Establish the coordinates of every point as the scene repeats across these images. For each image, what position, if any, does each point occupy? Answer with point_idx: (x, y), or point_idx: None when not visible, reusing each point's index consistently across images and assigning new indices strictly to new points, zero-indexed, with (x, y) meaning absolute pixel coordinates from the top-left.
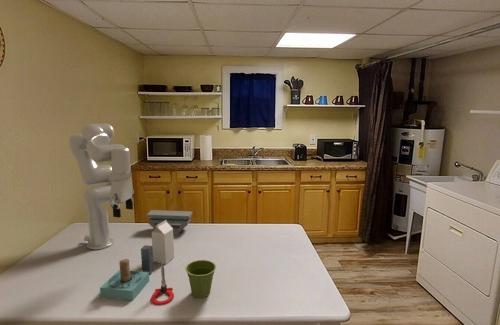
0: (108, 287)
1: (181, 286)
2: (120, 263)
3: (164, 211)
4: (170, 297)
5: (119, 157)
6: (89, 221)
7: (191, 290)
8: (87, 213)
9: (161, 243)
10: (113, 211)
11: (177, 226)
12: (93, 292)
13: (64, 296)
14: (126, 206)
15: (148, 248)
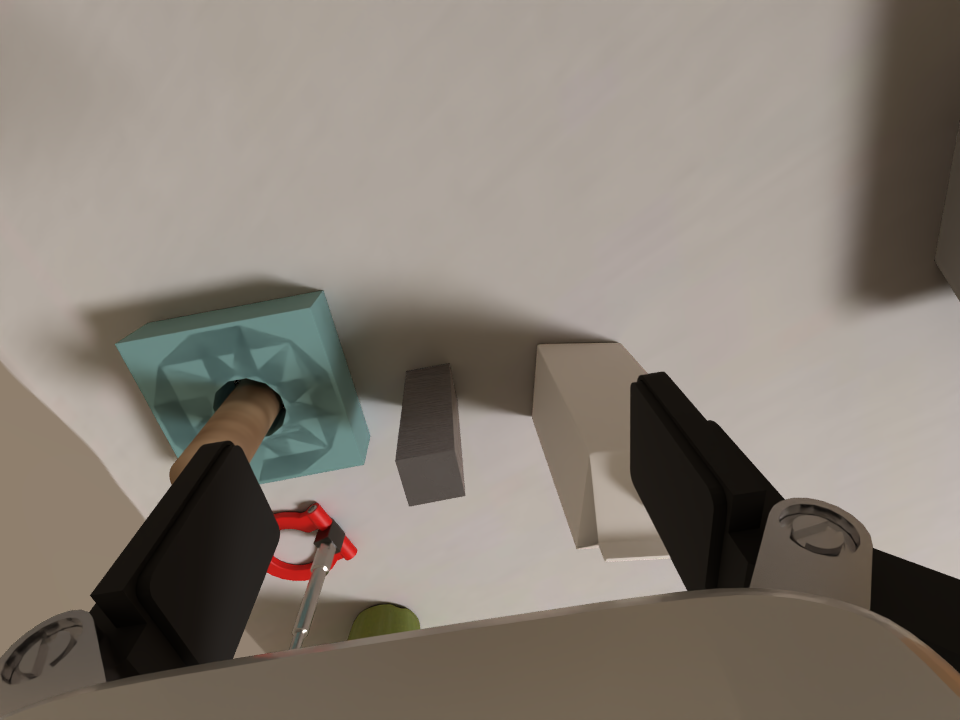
0: (145, 383)
1: (394, 558)
2: (170, 475)
3: None
4: (302, 574)
5: None
6: None
7: (354, 630)
8: None
9: (560, 474)
10: (153, 528)
11: None
12: (148, 256)
13: (12, 120)
14: (649, 421)
15: (421, 497)
